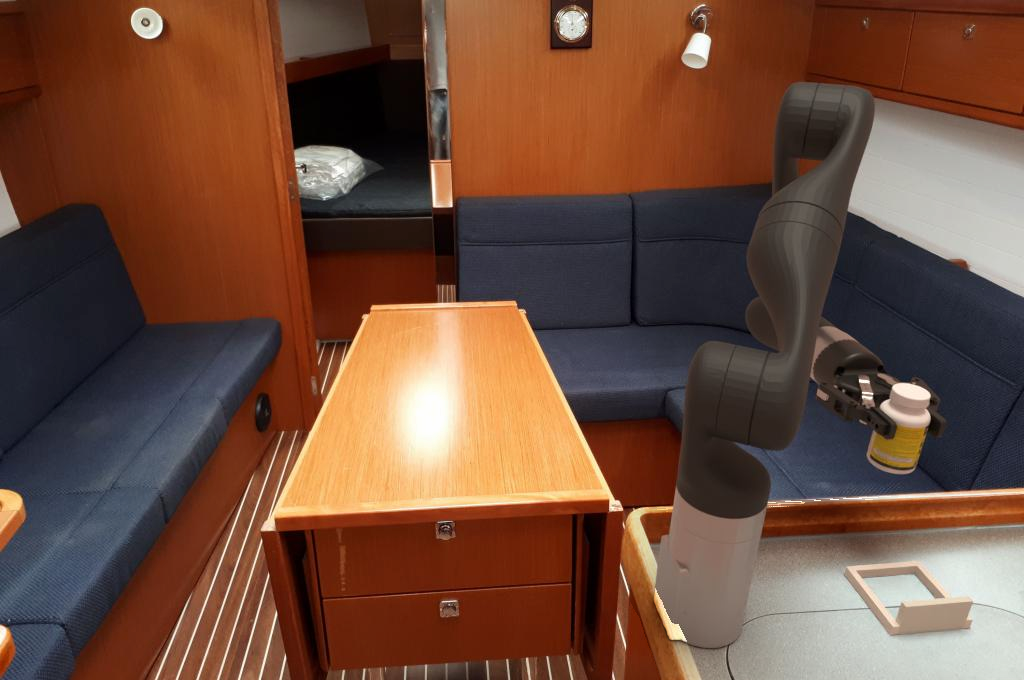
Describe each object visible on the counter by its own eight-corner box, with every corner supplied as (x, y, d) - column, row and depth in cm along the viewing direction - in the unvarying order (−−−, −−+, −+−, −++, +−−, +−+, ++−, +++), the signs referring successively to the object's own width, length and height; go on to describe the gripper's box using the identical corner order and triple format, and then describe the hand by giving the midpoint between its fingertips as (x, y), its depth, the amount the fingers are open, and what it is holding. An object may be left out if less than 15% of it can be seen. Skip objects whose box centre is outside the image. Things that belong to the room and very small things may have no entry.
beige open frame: (890, 635, 82) (899, 607, 80) (844, 574, 90) (851, 548, 89) (969, 627, 83) (979, 600, 81) (916, 568, 92) (924, 542, 90)
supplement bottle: (921, 478, 85) (944, 405, 81) (871, 472, 86) (891, 399, 82) (908, 453, 90) (929, 382, 86) (861, 447, 91) (879, 377, 87)
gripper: (793, 340, 96) (866, 405, 81) (895, 336, 98) (985, 400, 83) (782, 390, 99) (851, 462, 84) (881, 386, 101) (966, 456, 86)
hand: (917, 431), depth 83 cm, fingers closed on supplement bottle, 5 cm apart
